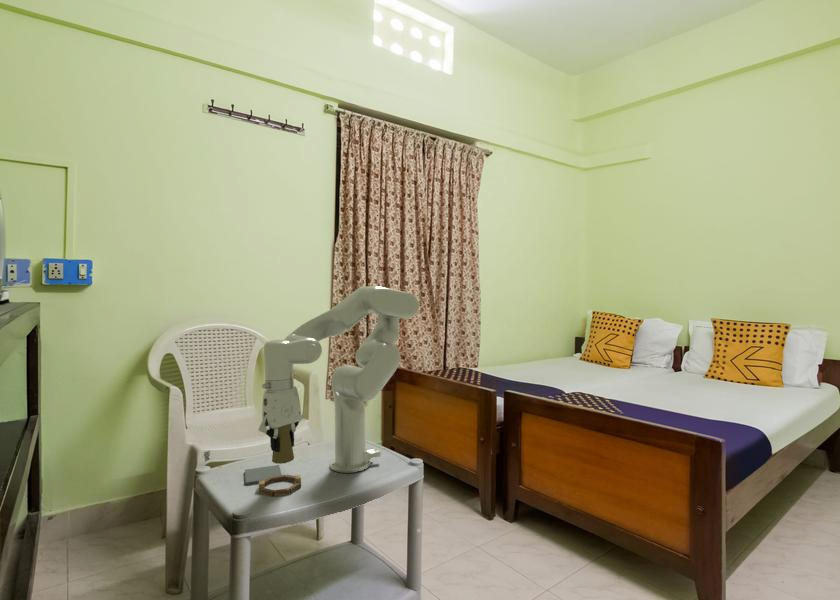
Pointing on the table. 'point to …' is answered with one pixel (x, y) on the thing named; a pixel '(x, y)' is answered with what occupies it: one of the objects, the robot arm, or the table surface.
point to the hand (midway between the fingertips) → (282, 447)
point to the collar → (282, 491)
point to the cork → (284, 446)
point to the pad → (261, 474)
